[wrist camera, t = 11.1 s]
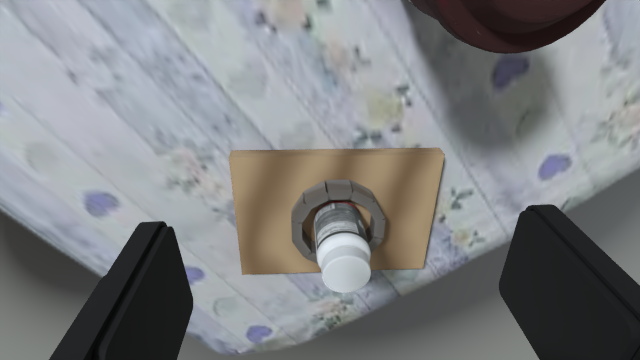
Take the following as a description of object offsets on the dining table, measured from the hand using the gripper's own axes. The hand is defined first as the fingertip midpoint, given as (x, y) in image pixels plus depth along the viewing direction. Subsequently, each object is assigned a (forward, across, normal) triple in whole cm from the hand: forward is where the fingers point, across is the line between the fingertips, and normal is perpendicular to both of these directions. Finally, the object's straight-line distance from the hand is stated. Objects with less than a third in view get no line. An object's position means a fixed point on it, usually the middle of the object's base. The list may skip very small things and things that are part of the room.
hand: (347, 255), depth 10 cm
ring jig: (+24, -1, +15) cm, 29 cm away
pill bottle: (+23, -2, +15) cm, 27 cm away
